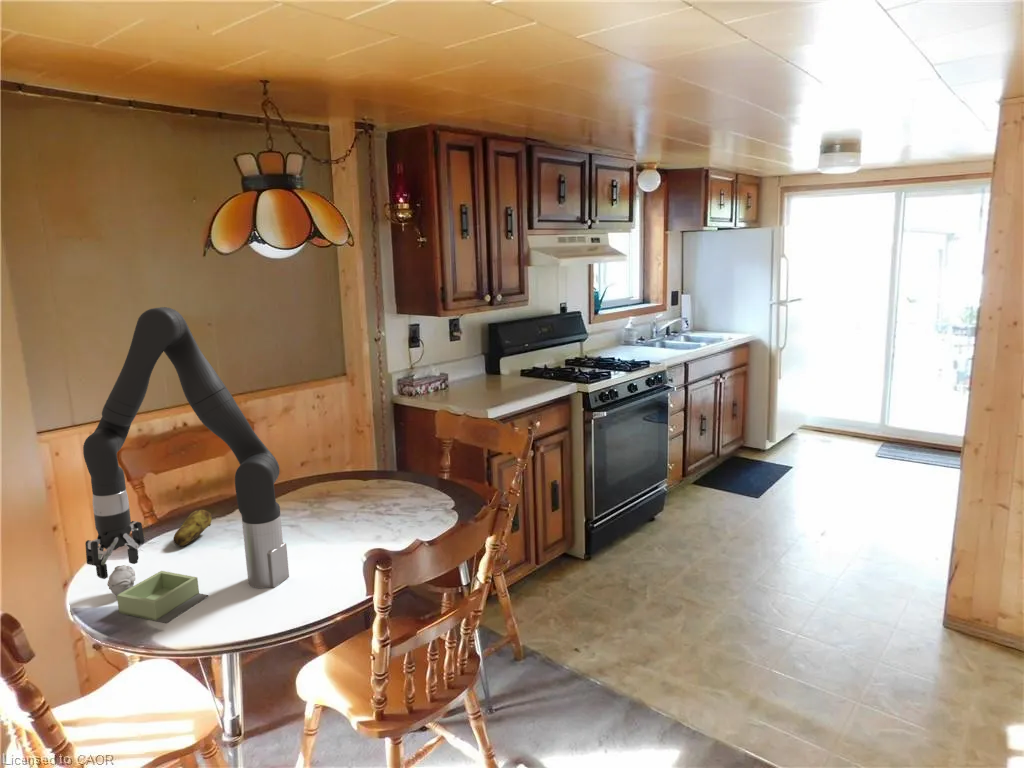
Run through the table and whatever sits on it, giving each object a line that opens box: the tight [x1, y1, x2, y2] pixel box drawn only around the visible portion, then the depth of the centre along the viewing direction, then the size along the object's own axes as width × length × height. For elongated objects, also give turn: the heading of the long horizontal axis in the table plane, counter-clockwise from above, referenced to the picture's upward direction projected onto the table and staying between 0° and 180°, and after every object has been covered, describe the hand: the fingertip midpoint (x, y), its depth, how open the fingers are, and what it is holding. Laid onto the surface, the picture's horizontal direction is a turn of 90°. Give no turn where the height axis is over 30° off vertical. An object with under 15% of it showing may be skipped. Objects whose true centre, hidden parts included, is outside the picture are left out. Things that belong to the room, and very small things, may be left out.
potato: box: [173, 509, 213, 547], centre depth 200 cm, size 8×13×8 cm, turn 145°
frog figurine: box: [107, 564, 137, 596], centre depth 169 cm, size 6×7×7 cm
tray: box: [116, 570, 209, 624], centre depth 164 cm, size 14×13×5 cm
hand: (118, 570), depth 169 cm, fingers open, 8 cm apart
